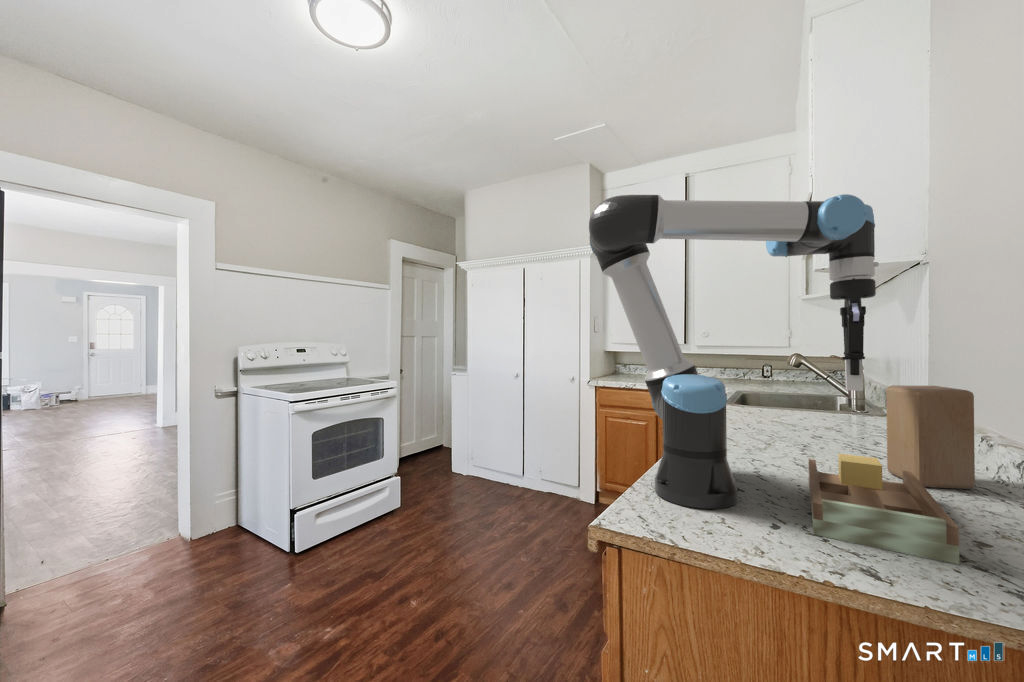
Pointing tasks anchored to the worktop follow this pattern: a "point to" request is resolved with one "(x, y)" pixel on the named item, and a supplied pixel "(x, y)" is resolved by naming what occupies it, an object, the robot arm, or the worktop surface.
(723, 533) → the worktop surface
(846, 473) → the ochre block
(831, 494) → the tray
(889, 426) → the block
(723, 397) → the robot arm
